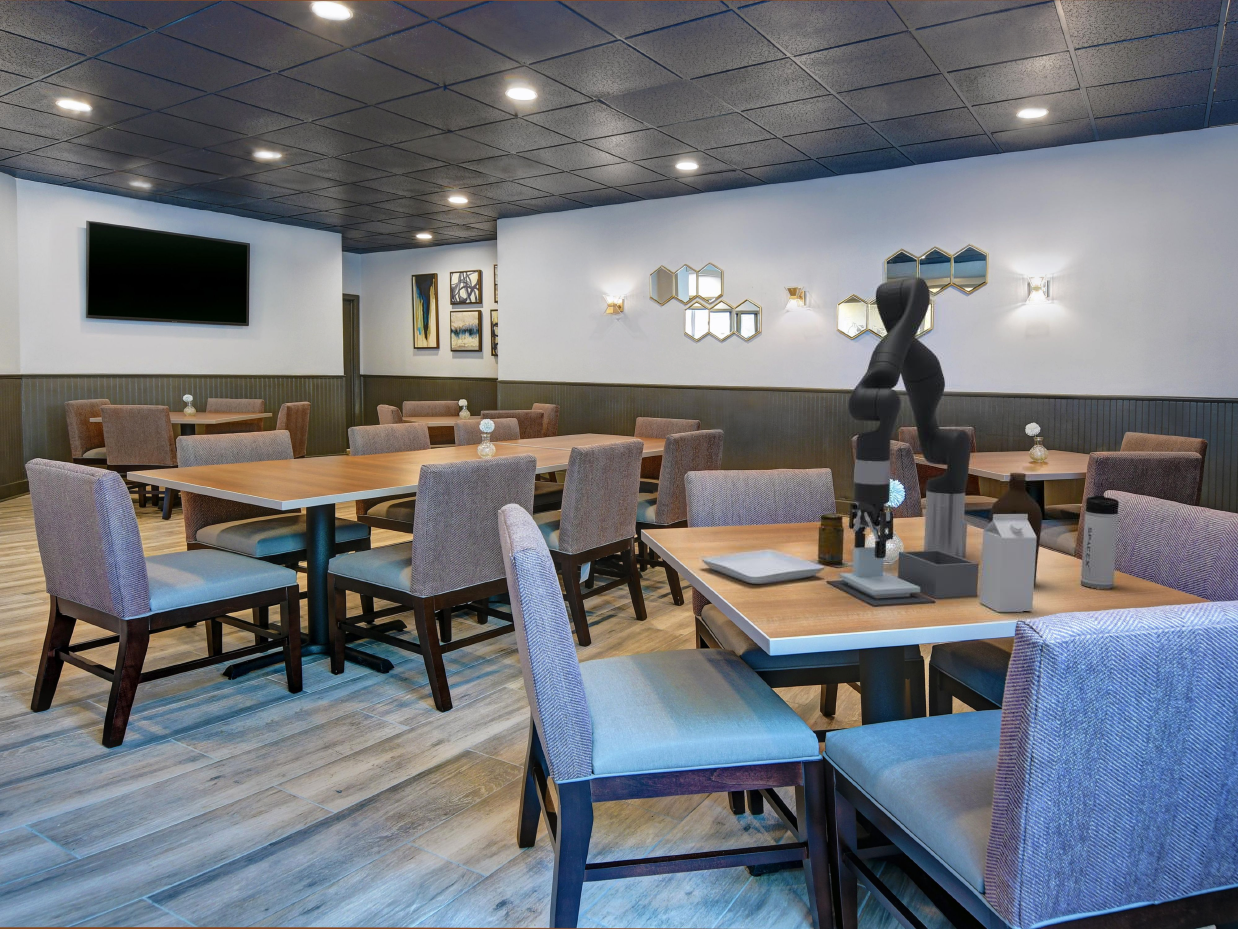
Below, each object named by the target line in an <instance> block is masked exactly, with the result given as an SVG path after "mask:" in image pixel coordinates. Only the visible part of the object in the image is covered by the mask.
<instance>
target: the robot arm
mask: <svg viewBox="0 0 1238 929" xmlns="http://www.w3.org/2000/svg"><path fill="white" fill-rule="evenodd" d="M930 296H931V294H930V289H929V286H928V283H927V281H926V280H925V279H924V278H922V277H920V276H919V277H918V276H917V277H916V276H915V277H914V276H913V277H907V278H903V279H897V280H892V281H888V282H883V283H881V284H880V285H878V287H877V288H876V291H875V304H876V308H877V311H878V315H879V317H880V319H881V322H882V324H883V327H884V329H885V331H886V335H885V336H883V338H882V339H881V340H880V341H879V342H878V343H877V345H876V346H875V347H874V349H873V351H872V354H871V357H870V360H869V363H868V367H867V369H866V372H865V374H864V375H863V377H862V378H861V379H860V381H859V382H858V384H856V386H855V387H854V389H853V390H852V392H851V394H850V395H849V396H850V397H849V400H848V406H847V407H848V412H849V414H850V416H851V417H852V418H853V419H854V420H857V421H861V422H879V425H878V427H877V428H876V429H875V430H871V431H865V432H861V433H859V434H858V435H857V436H856V439H855V440H856V444H855V446H856V448H855V449H856V450H855V464H854V469H853V471H854V473H853V497H852V498H853V501H854V502H850V503H849V520H848V528H849V530H850V529H851V530H852V532H853V534H854V544H853V545H854V547H853V548H863V547H866V533H865V532H866V531H867V528H869V530H870V532H871V533H873V536H874V547H875V557H876V558H884V559H885V558H886V555H887V542H888V541H890V540H893V539H894V512H893V511H891V510H889V511H887V510H886V511H885V505H886V504H888V503H889V502H890V496H891V490H890V489H891V464H890V463H891V462H890V460H891V458H890V456H891V441H892V437H893V431H894V428H895V424H896V421H897V418H898V417H899V413H900V410H901V403H902V402H901V397H900V395H899V393H898V391H896V390H895V389H893V388H895V387H897V385H898V383H899V380H900V377H901V379H902V382H903V385H904V389H905V391H906V394H907V397H908V401H909V403H910V406H911V410H912V414H913V418H914V420H915V426H916V431H917V438H918V443H919V447H920V451H921V454H922V456H923V458H924V461H926V462H927V463H929V464H932V465H941V466H943V465H944V466H946V470H945V473H943V474H941V475H940V476H937V477H933V478H929V479H928V480H927V483H926V492H925V494H926V497H925V499H926V500H925V519H924V520H925V521H924V536H923V537H924V539H923V540H924V541H923V543H924V544H923V551H930V550H940V551H943V552H946V553H949V554H952V555H955V556H958V557H961V558H964V559H966V554H967V536H968V535H967V532H968V522H966V521H965V506H966V505H965V504H966V488H967V487H966V486H967V483H968V479H969V469H970V468H969V467H970V460H971V459H970V458H971V450H972V447H971V446H972V445H971V444H972V441H971V438H970V434H969V433H968V432H967V431H966V430H963V429H959V428H958V429H955V428H940V426H939V425H938V422H937V418H936V416H937V415H936V412H937V407H938V406H939V404H940V401H941V399H942V397H943V394H944V391H945V388H946V380H945V377H944V374H943V373H944V372H943V369H942V365H941V363H940V361H939V359H938V356H936V354H935V353H934V352H933V351H932V350H931V349H930V348H929V347H928V346H926V345H925V344H924V343H922V341H920V340H919V339H918V338H917V337H916V335H917V333H918V331H919V329H920V326H921V325H922V323H923V321H924V319H925V318H926V314H927V313H928V310H929V305H930V300H931V297H930ZM887 529H888V530H887Z"/></svg>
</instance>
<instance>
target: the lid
mask: <svg viewBox="0 0 1238 929" xmlns="http://www.w3.org/2000/svg"><path fill="white" fill-rule="evenodd" d="M852 550H853V551H852V563H853V565H852V568H851V570H852V572H841V573H839V574H838V575H839V576H838V578H839V580H845V581H847V582H848V585H850V586H852V587H854V588H856V589H858V590H860V591H862V592H864V593H866V594H868V595H871V596H873V597H875V598H890V597H907V596H910V593H912V592H916V593H921V592H920V587H918V586H916V585H914V584H911V583H909V582H906V581H904V580H902V579H899V578H898V576H895V575H892V574H889V573H887V572H885V571H884V559H885V558H876V557H875V546H867V547H866V546H865V547H863V548H854V547H853V548H852Z"/></svg>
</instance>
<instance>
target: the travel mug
mask: <svg viewBox="0 0 1238 929" xmlns="http://www.w3.org/2000/svg"><path fill="white" fill-rule="evenodd" d="M1085 500H1086V501H1085V515H1084V527H1083V540H1082V541H1083V542H1082V545H1083V546H1082V558H1081V573H1080V577H1081V578H1080V585H1081V586H1083V585H1084V586H1083V587H1085V586H1087V587H1086V588H1088V587H1091V588H1090V589H1093V588H1099V589H1098V590H1102V589H1107V590H1111V589H1110V588H1112V589H1113V588H1114V583H1115V582H1114V579H1115V565H1116V553H1117V552H1116V551H1117V550H1116V549H1117V540H1118V538H1117V537H1118V536H1117V534H1118V522H1119V517H1118V516H1119V510H1118V509H1119V504H1120V503H1119V502H1120V501H1119V500H1118V499H1115V498H1112V497H1108V496H1107V497H1106V496H1105V495H1094V496H1090V497H1089V496H1088V497H1087V498H1086V499H1085Z"/></svg>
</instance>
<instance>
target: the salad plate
mask: <svg viewBox="0 0 1238 929" xmlns="http://www.w3.org/2000/svg"><path fill="white" fill-rule="evenodd" d="M700 559H701V561H702V562H703V564H704V565H706V566H707V567H708V568H710V569H712V570H713V571H716V572H719V573H721V574H724V575H725V576H728V577H732V578H735V579H737V580H740V581H743V582H745V583H748V584H752V585H765V584H774V583H779V582H780V583H781V582H789V581H794V580H800V579H806V578H810V577H812V576H816V575H819V573H821V572H823V571H824V569H825V568H826V567H825V565H822V564H818V563H814V562H810V561H809V560H806V559H803V558H800V557H797V556H794V555H791V554H787V553H784V552H780V551H776V550H775V549H763V550H754V551H744V552H736V553H729V554H723V555H716V556H708V557H701V558H700Z"/></svg>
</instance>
